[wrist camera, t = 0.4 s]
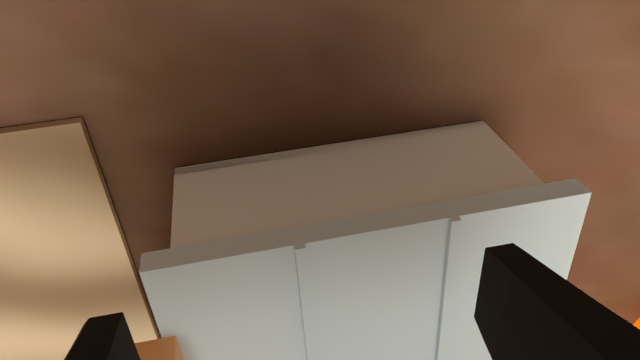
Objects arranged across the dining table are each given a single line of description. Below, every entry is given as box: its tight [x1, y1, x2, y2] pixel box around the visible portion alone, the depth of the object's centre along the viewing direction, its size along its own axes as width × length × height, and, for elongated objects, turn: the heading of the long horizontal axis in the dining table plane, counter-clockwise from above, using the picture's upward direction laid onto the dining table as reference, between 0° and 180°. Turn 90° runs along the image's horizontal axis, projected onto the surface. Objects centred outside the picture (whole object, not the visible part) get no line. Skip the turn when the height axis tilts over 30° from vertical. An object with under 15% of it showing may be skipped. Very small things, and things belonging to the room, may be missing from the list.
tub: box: [170, 121, 545, 248], centre depth 21 cm, size 12×9×5 cm
